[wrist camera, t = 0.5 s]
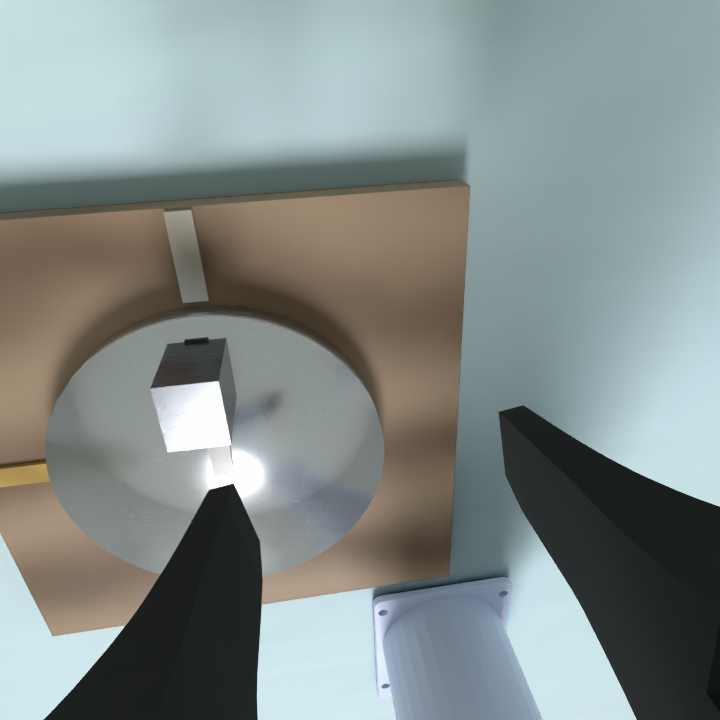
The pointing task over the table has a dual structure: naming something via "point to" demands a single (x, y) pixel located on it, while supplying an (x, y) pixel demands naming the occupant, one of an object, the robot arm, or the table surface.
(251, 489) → the dial
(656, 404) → the table surface
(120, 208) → the plate
